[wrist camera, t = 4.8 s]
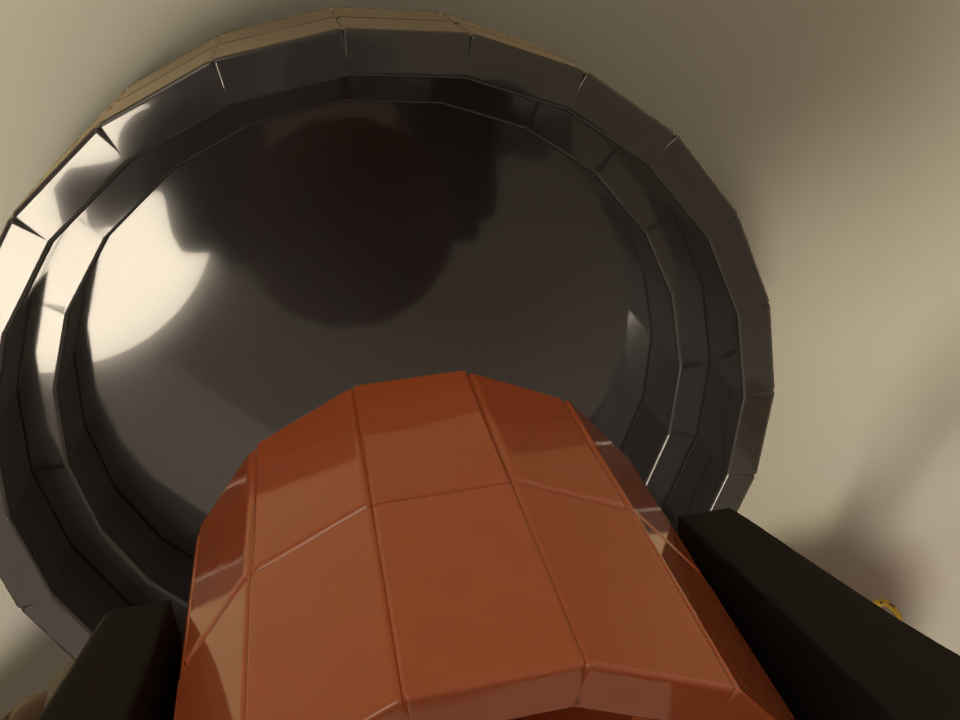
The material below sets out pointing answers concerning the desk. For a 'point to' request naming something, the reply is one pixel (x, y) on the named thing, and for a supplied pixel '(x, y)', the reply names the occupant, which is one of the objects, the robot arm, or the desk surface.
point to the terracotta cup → (453, 573)
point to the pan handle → (37, 700)
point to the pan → (351, 284)
